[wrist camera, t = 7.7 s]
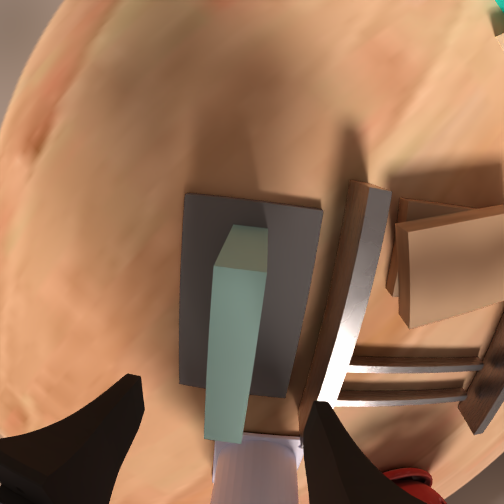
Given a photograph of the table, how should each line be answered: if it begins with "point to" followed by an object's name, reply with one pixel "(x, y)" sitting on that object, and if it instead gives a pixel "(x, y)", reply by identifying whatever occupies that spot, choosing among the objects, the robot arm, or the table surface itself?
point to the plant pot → (415, 484)
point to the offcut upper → (450, 264)
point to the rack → (350, 320)
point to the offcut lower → (409, 212)
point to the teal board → (234, 330)
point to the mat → (276, 288)
